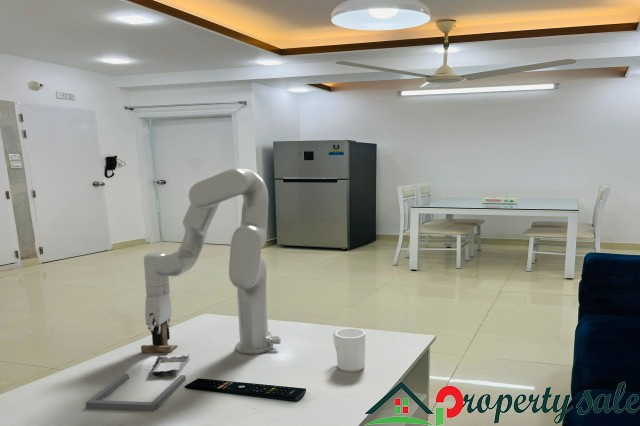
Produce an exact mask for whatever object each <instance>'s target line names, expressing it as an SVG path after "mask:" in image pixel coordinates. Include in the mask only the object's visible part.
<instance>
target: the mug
mask: <svg viewBox="0 0 640 426" xmlns="http://www.w3.org/2000/svg"><path fill="white" fill-rule="evenodd" d="M332 336H333V337H332V338H333V340H332V341H333V344H334V348H335V351H336V361H337V368H338V369H339V370H340V371H342V372H344V373H345V372H347V373H358V372H360V371H362V370H363V369H365V367H366V361H365V360H366V331H365V330H363V329H360V328H353V327H347V328H340V329H338V330H336V331H334V332H333V335H332Z"/></svg>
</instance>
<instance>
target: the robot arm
mask: <svg viewBox="0 0 640 426" xmlns="http://www.w3.org/2000/svg"><path fill="white" fill-rule="evenodd" d="M266 184H267V183H265V181H264V180H263V178H262V177H261V176H260V175H259V174H258V173H256V172H255V171H254V170H251V169H249V168H244V167H243V168H242V167H239V168H238V167H237V168H234V167H233V168H230V169H227V170H224V171H222V172H219V173H218V174H215V175H212V176H211V177H207V178H206V179H203V180H202V179H201V180H200V181H198V182H196V183H194V184H193V185H192V186H191V187H190V189H189V191H188V199H189V202H190V205H189V206H188V209H187V211H186V213H185V215H184V217H183V220H182V225H183V227H184V235H183V238H182V241H181V243H180V246H179V248H178V250H177V251H175V252H173V253H170V254H166V253H164V252H149V253H147V254H145V255H144V258H143V267H144V280H145V293H146V294H145V295H146V296H145V303H144V304H145V307H144V311H145V313H144V315H145V316H144V318H145V319H144V320H145V325H146V326H147V329H148V330H149V332H150V334H151V338H152V339H151V340H152V345H162V333H160V329H161V324H162V323H164V322H166V325H167V340H170V338H171V336H170V321H171V318H172V304H171V296H170V279H169V277H179V276H181V275H183V274H185V273H187V272H188V271H189V270H191V269H192V268H193V267H194V266H195V265H196V263H197V260H198V259H199V257H200V254H201V252H202V250H203V247H204V245H205V240H206V238H207V234H208V230H209V227H210V226H211V223H212V221H213V219H214V216H215V214H216V212H217V210H218V208H219V205H220V203H222V202H224V201H228V200H230V199H232V198H235V197H238V196H241V195H242V199H243V200H242V205H241V217H240V225H239V227H237V228H236V229H235V231H234V232H233V233H232V237H231V241H230V248H229V249H230V252H229V261H228V262H229V263H228V265H229V266H228V276H229V281H230V282H231V284H232V285H233V286H234V287H235V288H236V290H237V295H236V297H237V311H238V313H237V315H238V316H237V317H238V330H239V331H238V332H239V333H238V334H239V335H238V336H239V342H238V341H237V343H236V344H235V345H234V346H235V347H234V348H235V351H236V352H238V353H240V354H245V355H256V354H262V353H265V352H268V351H270V350H271V349H273V347H274V345H280V344H281V341H282V339H281V338H280V336H278V335H277V336H273V335H272V333H271V331H269V324H268V308H267V306H268V305H267V304H268V303H267V266H266V262H265V260H264V259H263V258H262V257H261V253H262V248H263V247H264V246H265V244H266V242H267V236H268V235H267V234H268V233H267V231H268V230H267V229H268V219H269V215H268V212H269V190H268V187H267V185H266ZM156 323H157V324H156ZM155 326H158V327H157V328H155Z"/></svg>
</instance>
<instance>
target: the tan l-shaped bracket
mask: <svg viewBox="0 0 640 426" xmlns="http://www.w3.org/2000/svg"><path fill="white" fill-rule="evenodd" d="M155 324H157V323H155ZM157 327H158V326H155V328H157ZM160 333H162V345H153V344H148V345H147V344H142V345H141V346H140V351H141V354H155V353H170V354H172V353H173V352H174V351H175V350H176V349H177V348H178V345H177V344H169V343H168V340H167V325H166V322H164V323H162V324H161V329H160ZM173 350H174V351H173Z"/></svg>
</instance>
